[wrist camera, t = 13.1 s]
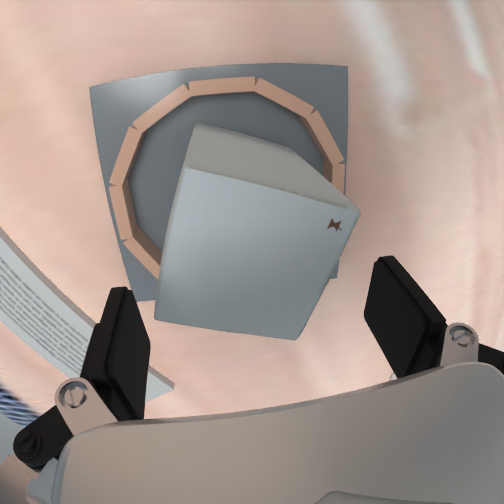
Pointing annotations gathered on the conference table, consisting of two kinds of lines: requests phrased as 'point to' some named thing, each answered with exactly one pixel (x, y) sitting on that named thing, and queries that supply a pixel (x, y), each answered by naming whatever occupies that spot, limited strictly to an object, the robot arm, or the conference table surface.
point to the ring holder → (180, 131)
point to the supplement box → (249, 237)
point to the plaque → (50, 317)
